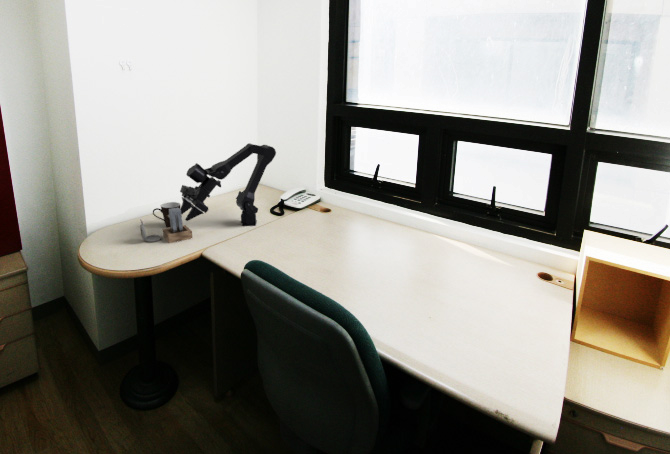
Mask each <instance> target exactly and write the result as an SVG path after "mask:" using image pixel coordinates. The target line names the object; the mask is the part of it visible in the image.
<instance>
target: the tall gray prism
mask: <svg viewBox="0 0 670 454" xmlns="http://www.w3.org/2000/svg"><path fill="white" fill-rule="evenodd" d="M180 209H181V208H180ZM180 209H179V208H178V207H177V208H171V209H169V216H170V225H171V234H173V233H178V232H183V225H184V224H183V217H182V215H181V210H180ZM175 215H176V218H175ZM176 224H177V227H176Z"/></svg>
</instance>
